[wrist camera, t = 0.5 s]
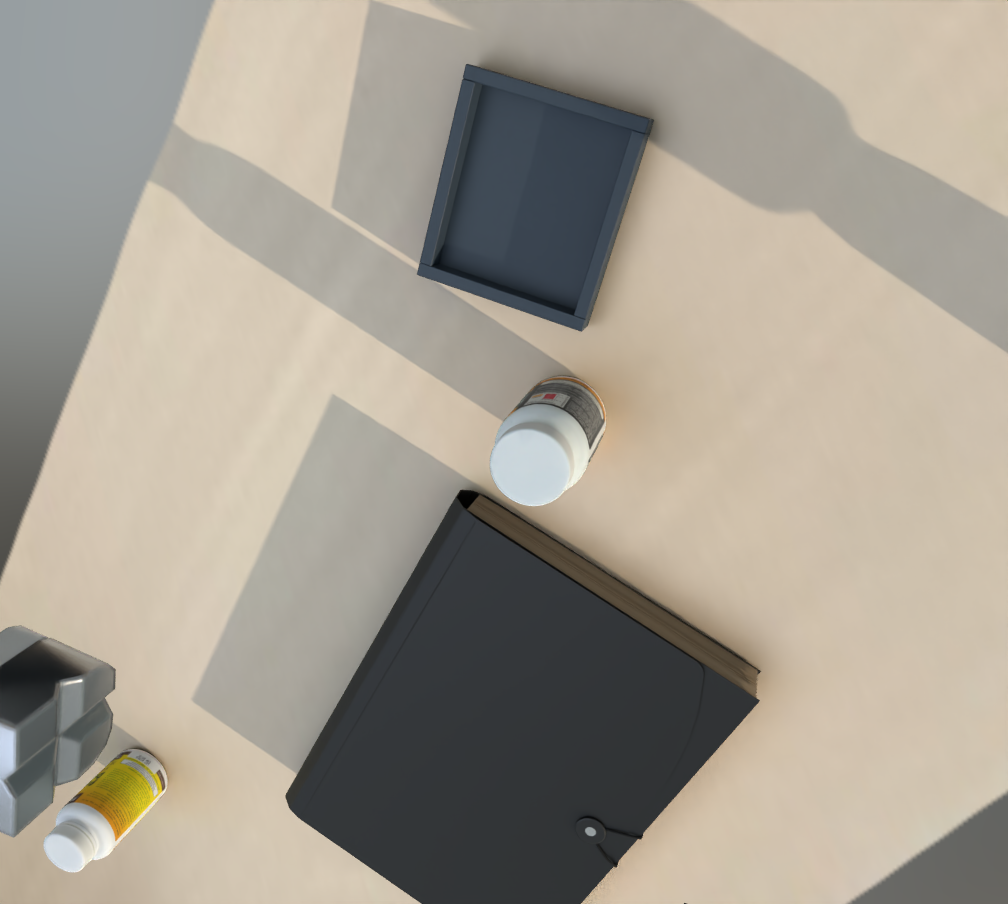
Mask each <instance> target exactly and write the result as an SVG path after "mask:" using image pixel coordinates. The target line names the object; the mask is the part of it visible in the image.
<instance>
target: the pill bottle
mask: <svg viewBox="0 0 1008 904" xmlns="http://www.w3.org/2000/svg"><path fill="white" fill-rule="evenodd" d="M605 427H606V411H605V407H604V405H603V402H602V400H601V398H600V397H599V395H598V394H597V392H596V391H595V390H594V389H593V388H592V387H591V386H589V385H588V384H586V383H585V382H583V381H581V380H579V379H577V378H573V377H568V376H556V377H551V378H548V379H546V380H543V381H541V382H540V383H538V384H537V385H536V386H534V387H533V388H532V389H531V390H530V391H529V393H528V394H527V395H526V396H525V397H524V398H523V399H522V400H521V401H520V403H519V404H518V405H517V406H516V407H515V409H514V410H513V411H512V412H511V413H510V414H509V416H508V417H507V418H506V419H505V420H504V422H503V423H502V425H501V426H500V428H499V430H498V433H497V435H496V439H495V446H494V448H493V450H492V453H491V457H490V470H491V475H492V477H493V480H494V482H495V484H496V485H497V487H498V488H499V489H500V491H501V492H502V493H503V494H504V495H505V496H507V497H508V498H509V499H511V500H513V501H515V502H517V503H519V504H523V505H527V506H540V505H545V504H548V503H550V502H552V501H554V500H555V499H557V498H558V497H559V496H560V495H561V494H562V493H563V492H564V491H565V490H566V489H568V488H570V487H571V486H573V485H574V484H575V483H576V482H577V481H578V480H579V479H580V478H581V477H582V475H583V474H584V472H585V470H586V468H587V466H588V464H589V462H590V460H591V458H592V456H593V455H594V453H595V451H596V449H597V447H598V445H599V443H600V441H601V439H602V437H603V434H604V431H605Z"/></svg>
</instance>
